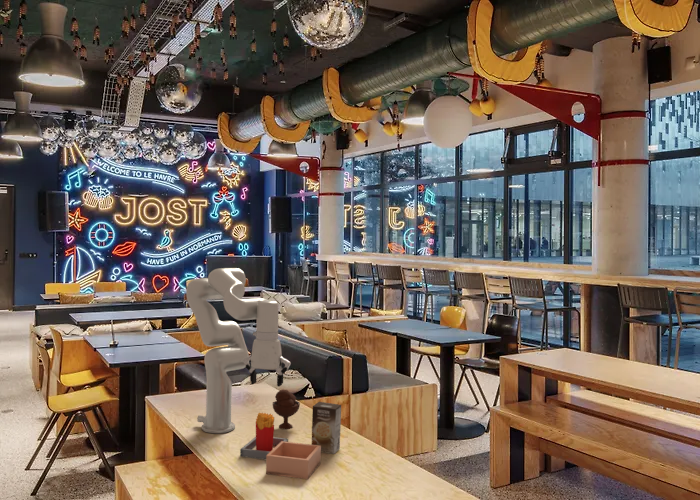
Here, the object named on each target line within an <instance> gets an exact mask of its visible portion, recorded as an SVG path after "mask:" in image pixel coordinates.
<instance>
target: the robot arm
mask: <svg viewBox="0 0 700 500" xmlns="http://www.w3.org/2000/svg"><path fill="white" fill-rule="evenodd" d="M246 280H247V279H246V274H245V272H244V271H243V270H242V269H241V268H239V267H238V268H237V267H223V268H222V267H221V268H219V267H218V268H215V269H213V270H211V272H209V274H208V277H201V278H196V279H193V280H191V281H190V282H188V284H187V286H186V291H185V294H186V300H187V303H188V306H189V308H190V309H191V312H192V313H193V316H194V318H195V321H196V324H197V328H198V331H199V335H200V338H201V341H202V343H203V345H204V346H206V347H213V348H211V349H208V351H207V352H206V353H205V355H204V367H205V373H206V374H205V375H206V404H205V405H206V407H205V411H206V412H205V413H206V414H205V415H198V416H197V422H198V423H203V424H202V426H201V430H202V431H203V432H205V433H209V434H225V433H228V432H232V431H234V429H235V428H236V424H235V423H234V422H232V398H233V397H232V392H233V391H232V389H233V388H232V385H233V383H232V380H231V379H230V377H229V376H228V374H227V372H231V371H236V370H237V371H239V370H243V369H244V368H246V369H247V370H248V373H249V374H250V375H249V380H250V385H254V384H256V383H257V375H258V373H257V371H256V370H268V371H274V370H275V371H276V373H277V374H278V375H277V377H276V386H277V387H281V386H282V385H283V384H284V374H285V373H286V372H287V371H288V370H289V368H290V366H291V364H292V363H291V361H289V360H288V359H287V358H285V357H283V356H282V345H281V339H279V302H278V301H275V300H269V299H267V298H264V297H255V298H254V297H252V298H243V297H244V295H245V291H246V287H245V285H246V282H247V281H246ZM215 299H217V300H218V299H222V300H223V306H224V307H223V308H224V311H226V313H227V314H229V316H231V317H232V318H233V319H235V320H236V321H250V320H252V321H253V320H256V331H253V332H252V336H255V339H254V340H253V342H252V350H251V355H249V350H248V347H247V345H246V342H245V338H244V335H243V332H242V329H241V326H240V325H239V324H238V323H237V322H236V321H233V320H220V318H219V315H218V313H217V310H216V309H215V307H214V306H213V305H212V304H211V303H210V302H208V300H215ZM218 346H219V347H218ZM283 364H284V367H282V365H283Z"/></svg>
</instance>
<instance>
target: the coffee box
mask: <svg viewBox="0 0 700 500" xmlns="http://www.w3.org/2000/svg"><path fill="white" fill-rule="evenodd" d="M311 416H312V418H311V419H312V420H311V422H312V423H311V424H312V425H311V445H320V446H321V453H324V454H325V453H326V454H333V455H334V454H336V453H337V452H338V451H339V450H340V447H341V424H342V422H341V421H342V404H337V403H330V402H324V401H317V403H315V404H313V406H312V415H311Z"/></svg>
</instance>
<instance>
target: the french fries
mask: <svg viewBox="0 0 700 500" xmlns="http://www.w3.org/2000/svg"><path fill="white" fill-rule="evenodd" d="M274 422H275V416H274V415H273V414H271V413H266V412H258V413H257V416H256V419H255V437H256V446H255V450H261V451H269V452H271V451H272V450H273V449H274V447H273V446H274V445H273V437H274V432H275V425H274V424H275V423H274Z"/></svg>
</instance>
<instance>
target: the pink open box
mask: <svg viewBox="0 0 700 500" xmlns="http://www.w3.org/2000/svg"><path fill="white" fill-rule="evenodd" d="M311 444H312V443H311ZM311 444H310V443H303V442H302V443H300V442H292V441H288V442H285V441H281V442H280V443H279V444H278V445H275V447H273V450H272V451H271V452H269V453H268V454H267V455H266V461H265V462H266V463H265V475H273V476H279V477H280V476H281V477H288V478H294V479H301V480H302V479H303V480H309V478H310V477H311V476H312V474H313V473H314V472H315V471H316V469H318V467H319V466H320V465H321V463H322V462H321V461H322V460H321V459H322V458H321V457H322V452H321V446H320V445H311Z"/></svg>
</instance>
